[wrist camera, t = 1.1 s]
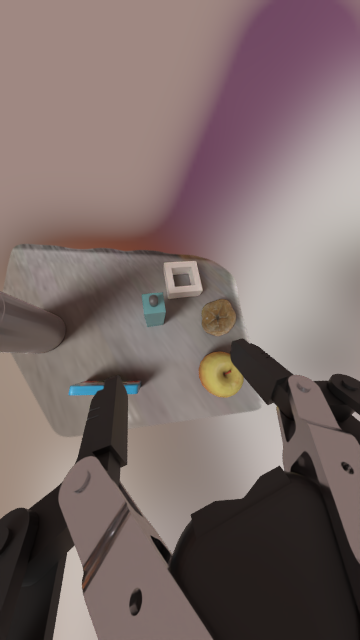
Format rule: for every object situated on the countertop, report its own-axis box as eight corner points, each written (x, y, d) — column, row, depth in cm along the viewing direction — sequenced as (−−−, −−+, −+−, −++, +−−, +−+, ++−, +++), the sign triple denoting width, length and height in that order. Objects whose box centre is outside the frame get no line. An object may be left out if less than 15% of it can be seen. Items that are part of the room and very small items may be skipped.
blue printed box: (141, 380, 33) (138, 385, 27) (140, 387, 33) (137, 393, 27) (85, 380, 32) (69, 386, 26) (83, 388, 31) (67, 395, 25)
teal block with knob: (147, 326, 37) (143, 311, 24) (145, 312, 38) (140, 289, 25) (163, 324, 37) (166, 308, 25) (160, 310, 38) (163, 287, 26)
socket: (168, 298, 39) (169, 293, 36) (163, 270, 41) (163, 262, 38) (199, 295, 41) (202, 290, 38) (192, 268, 43) (195, 260, 40)
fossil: (229, 293, 36) (239, 329, 32) (233, 300, 40) (243, 334, 35) (197, 305, 41) (203, 339, 36) (204, 311, 44) (210, 343, 39)
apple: (229, 351, 39) (248, 350, 31) (234, 391, 36) (255, 400, 28) (194, 352, 37) (204, 351, 29) (196, 394, 34) (208, 404, 27)
